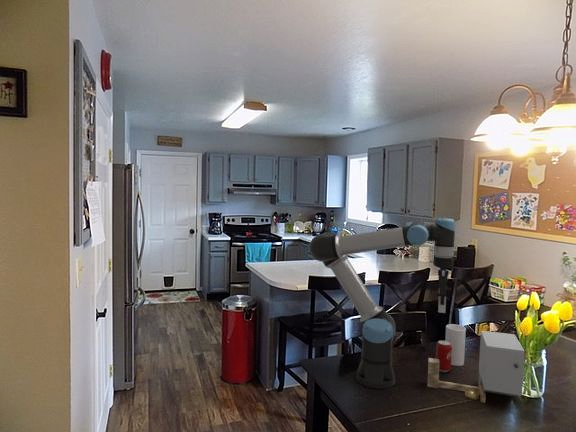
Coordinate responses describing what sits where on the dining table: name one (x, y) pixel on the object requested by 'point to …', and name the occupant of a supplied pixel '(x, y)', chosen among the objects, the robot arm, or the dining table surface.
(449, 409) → the dining table surface
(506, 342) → the cabinet
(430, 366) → the block
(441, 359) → the beverage can
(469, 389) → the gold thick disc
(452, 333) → the cup
